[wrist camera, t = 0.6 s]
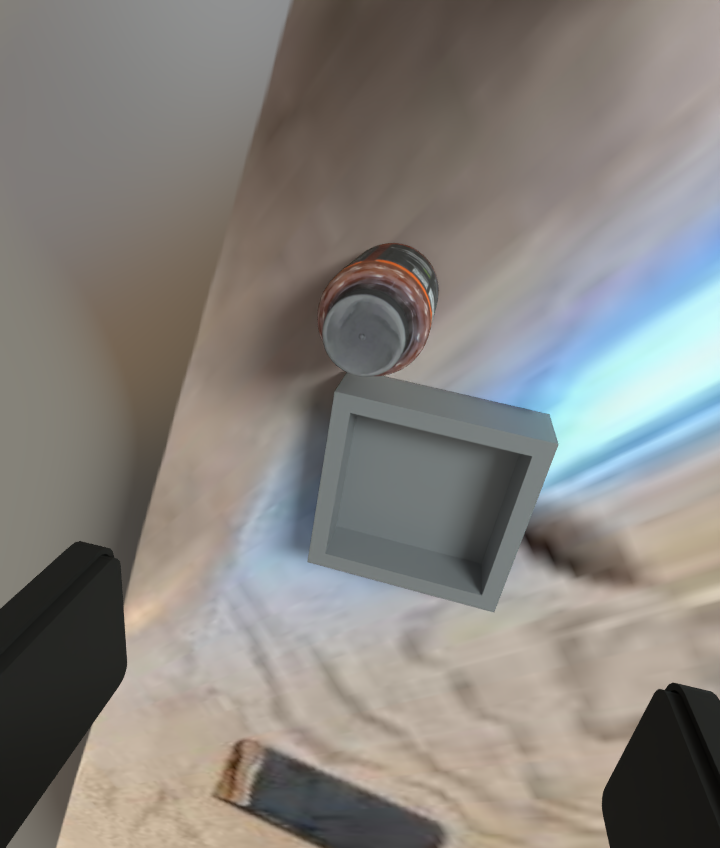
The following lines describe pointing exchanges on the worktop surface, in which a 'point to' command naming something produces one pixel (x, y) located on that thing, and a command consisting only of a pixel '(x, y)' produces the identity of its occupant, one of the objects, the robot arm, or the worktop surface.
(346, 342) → the supplement bottle
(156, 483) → the worktop surface
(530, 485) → the bin
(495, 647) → the worktop surface
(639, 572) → the worktop surface
